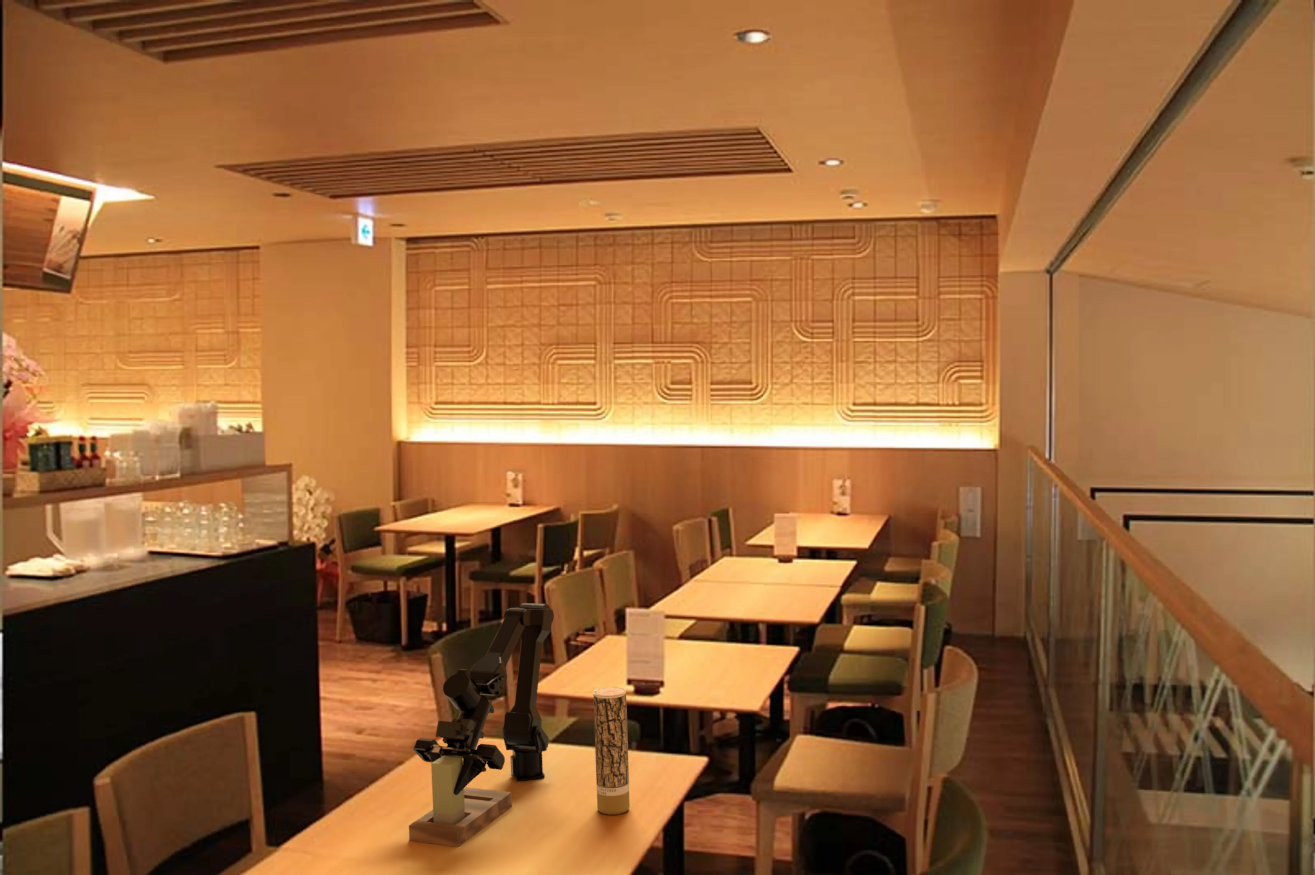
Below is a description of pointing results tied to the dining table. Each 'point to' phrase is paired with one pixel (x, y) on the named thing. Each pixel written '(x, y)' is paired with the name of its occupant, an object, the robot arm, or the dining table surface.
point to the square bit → (447, 791)
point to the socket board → (478, 814)
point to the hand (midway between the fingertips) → (444, 793)
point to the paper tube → (611, 750)
